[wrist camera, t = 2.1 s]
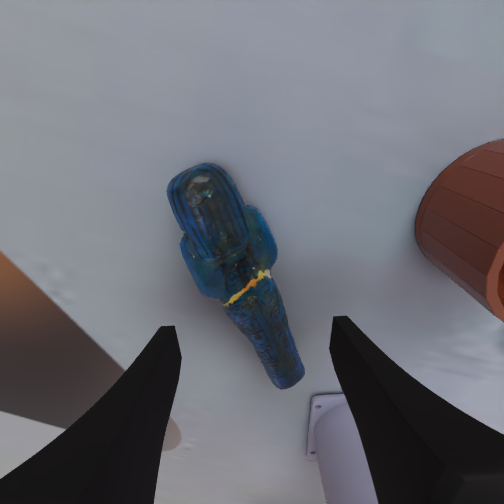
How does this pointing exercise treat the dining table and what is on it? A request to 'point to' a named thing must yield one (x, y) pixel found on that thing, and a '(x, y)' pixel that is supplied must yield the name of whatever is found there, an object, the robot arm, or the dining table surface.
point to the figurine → (235, 264)
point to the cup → (468, 224)
